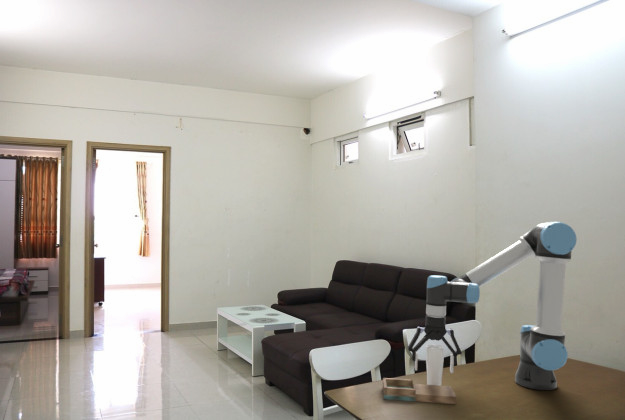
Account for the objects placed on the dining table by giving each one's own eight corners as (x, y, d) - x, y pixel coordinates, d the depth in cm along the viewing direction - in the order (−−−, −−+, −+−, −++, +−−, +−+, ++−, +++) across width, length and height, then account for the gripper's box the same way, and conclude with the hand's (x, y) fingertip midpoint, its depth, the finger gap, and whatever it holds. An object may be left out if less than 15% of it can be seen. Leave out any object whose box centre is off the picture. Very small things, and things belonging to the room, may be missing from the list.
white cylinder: (443, 384, 191) (444, 345, 191) (442, 389, 184) (443, 349, 185) (426, 381, 193) (427, 343, 193) (424, 387, 187) (425, 347, 187)
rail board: (450, 392, 181) (450, 382, 181) (456, 403, 170) (456, 392, 170) (382, 388, 184) (382, 377, 184) (383, 399, 173) (384, 387, 173)
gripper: (466, 315, 192) (464, 370, 191) (402, 311, 194) (400, 365, 194) (470, 319, 184) (468, 376, 184) (403, 315, 187) (401, 371, 187)
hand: (433, 370), depth 189 cm, fingers open, 13 cm apart
